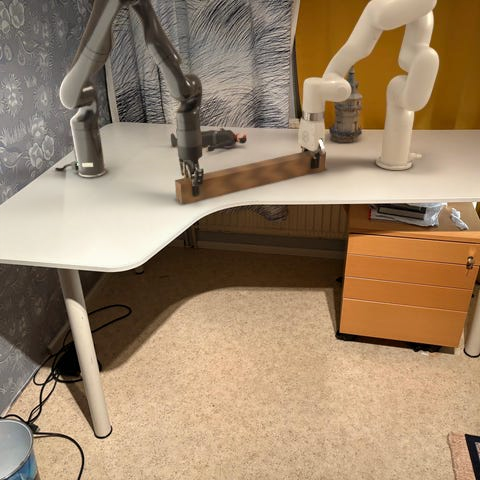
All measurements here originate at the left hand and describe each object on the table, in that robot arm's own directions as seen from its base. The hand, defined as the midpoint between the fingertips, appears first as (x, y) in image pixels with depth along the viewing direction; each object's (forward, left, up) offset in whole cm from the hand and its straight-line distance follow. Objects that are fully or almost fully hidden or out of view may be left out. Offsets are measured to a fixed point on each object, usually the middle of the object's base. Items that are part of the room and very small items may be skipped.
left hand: (192, 192), depth 172 cm
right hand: (+23, +40, 0) cm, 46 cm away
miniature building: (+21, +78, -2) cm, 81 cm away
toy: (-23, +45, -2) cm, 51 cm away
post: (+11, +20, -2) cm, 23 cm away
